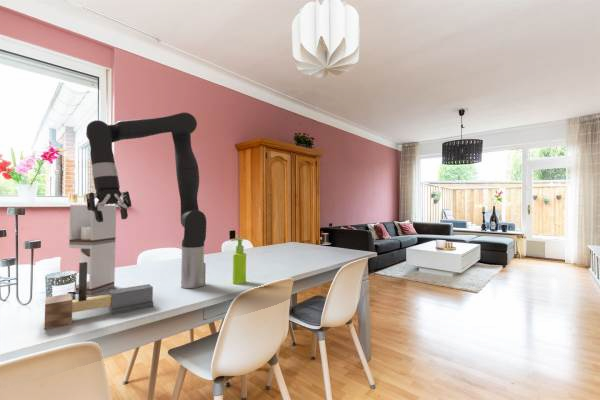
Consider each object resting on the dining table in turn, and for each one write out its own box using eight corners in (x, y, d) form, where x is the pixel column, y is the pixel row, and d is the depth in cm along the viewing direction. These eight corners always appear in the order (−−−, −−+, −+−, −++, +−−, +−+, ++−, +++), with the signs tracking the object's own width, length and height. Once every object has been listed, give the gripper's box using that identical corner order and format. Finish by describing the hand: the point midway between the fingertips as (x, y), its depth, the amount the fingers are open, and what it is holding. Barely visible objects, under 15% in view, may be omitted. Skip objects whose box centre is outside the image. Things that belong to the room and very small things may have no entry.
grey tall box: (92, 284, 125) (95, 205, 126) (114, 286, 123) (116, 205, 124) (67, 292, 113) (70, 205, 114) (91, 294, 112) (93, 205, 113)
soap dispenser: (231, 281, 133) (232, 238, 133) (246, 280, 134) (247, 238, 134) (229, 284, 127) (230, 239, 128) (245, 284, 128) (245, 239, 128)
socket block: (70, 315, 90) (71, 293, 90) (71, 323, 83) (72, 299, 84) (45, 320, 86) (45, 297, 86) (44, 329, 80) (45, 304, 80)
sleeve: (148, 301, 104) (148, 283, 104) (153, 306, 98) (153, 287, 98) (108, 309, 96) (109, 289, 96) (111, 315, 90) (112, 294, 91)
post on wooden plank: (125, 300, 97) (126, 257, 98) (127, 302, 95) (128, 258, 95) (56, 312, 85) (58, 264, 86) (56, 315, 83) (58, 265, 84)
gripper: (90, 174, 96) (98, 221, 95) (131, 175, 108) (138, 216, 108) (78, 178, 99) (85, 224, 98) (118, 178, 112) (125, 219, 111)
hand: (113, 220), depth 103 cm, fingers open, 8 cm apart
